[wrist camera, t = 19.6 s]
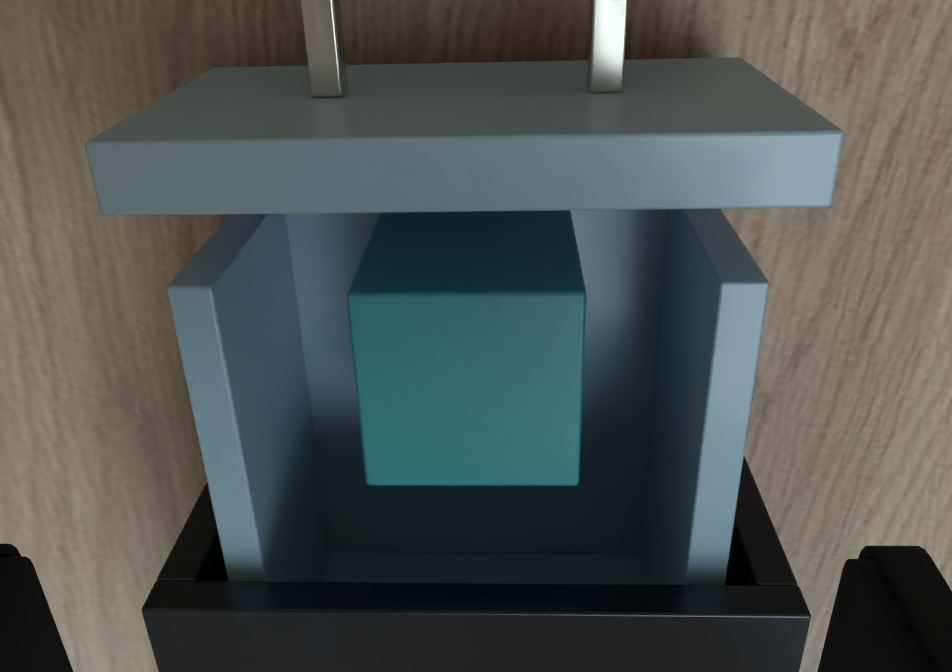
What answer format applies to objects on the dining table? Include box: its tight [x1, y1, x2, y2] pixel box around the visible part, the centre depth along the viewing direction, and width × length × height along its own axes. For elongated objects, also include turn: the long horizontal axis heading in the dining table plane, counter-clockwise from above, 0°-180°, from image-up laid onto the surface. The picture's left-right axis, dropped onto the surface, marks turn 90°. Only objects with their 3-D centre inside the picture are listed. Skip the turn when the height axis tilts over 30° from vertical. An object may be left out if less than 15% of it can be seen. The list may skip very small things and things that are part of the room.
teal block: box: [347, 210, 587, 486], centre depth 18 cm, size 4×4×4 cm
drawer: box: [85, 0, 843, 585], centre depth 17 cm, size 20×11×6 cm, turn 1°
